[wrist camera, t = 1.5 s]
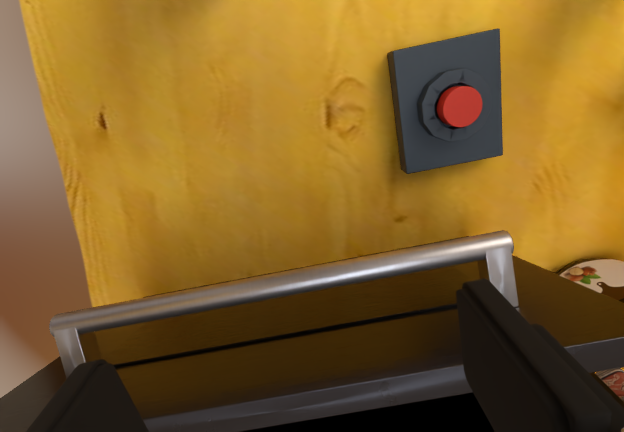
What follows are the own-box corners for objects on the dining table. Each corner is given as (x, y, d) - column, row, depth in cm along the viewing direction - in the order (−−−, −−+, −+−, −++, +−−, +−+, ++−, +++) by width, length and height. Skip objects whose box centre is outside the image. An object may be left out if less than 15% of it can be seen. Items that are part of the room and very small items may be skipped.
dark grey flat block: (387, 53, 36) (396, 49, 33) (487, 31, 36) (509, 25, 32) (401, 169, 40) (411, 177, 37) (491, 151, 40) (511, 158, 36)
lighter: (613, 360, 50) (685, 424, 40) (626, 374, 51) (699, 440, 41) (563, 394, 52) (620, 463, 42) (576, 407, 52) (635, 477, 43)
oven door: (134, 259, 45) (-116, 375, 19) (462, 196, 43) (672, 230, 17) (146, 309, 45) (-78, 485, 20) (470, 249, 43) (683, 357, 18)
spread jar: (617, 245, 44) (721, 297, 33) (624, 319, 48) (721, 389, 37) (518, 277, 45) (587, 337, 34) (533, 347, 49) (599, 423, 38)
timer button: (434, 90, 34) (441, 90, 33) (473, 82, 34) (481, 82, 32) (438, 128, 35) (444, 131, 34) (475, 121, 35) (483, 123, 34)
